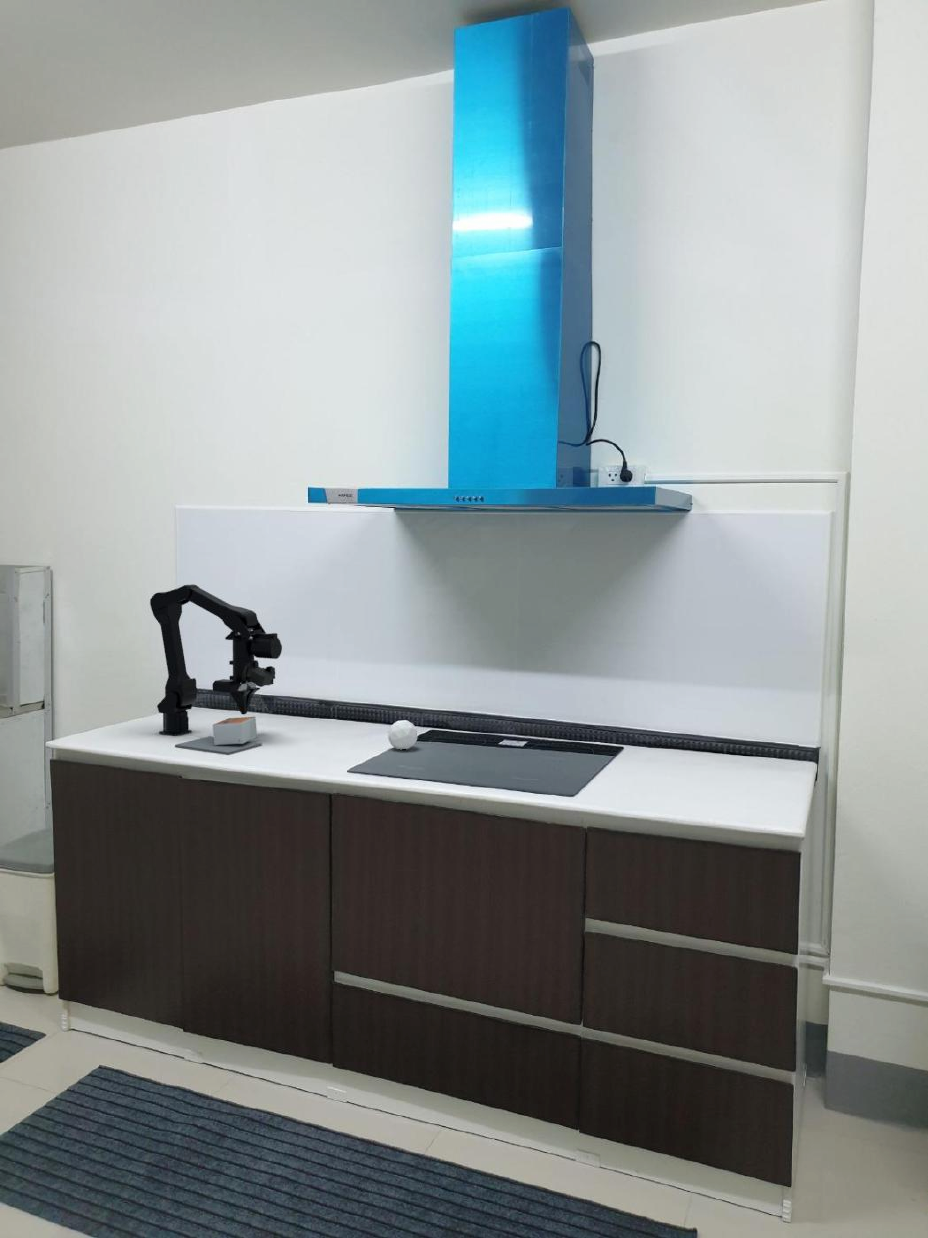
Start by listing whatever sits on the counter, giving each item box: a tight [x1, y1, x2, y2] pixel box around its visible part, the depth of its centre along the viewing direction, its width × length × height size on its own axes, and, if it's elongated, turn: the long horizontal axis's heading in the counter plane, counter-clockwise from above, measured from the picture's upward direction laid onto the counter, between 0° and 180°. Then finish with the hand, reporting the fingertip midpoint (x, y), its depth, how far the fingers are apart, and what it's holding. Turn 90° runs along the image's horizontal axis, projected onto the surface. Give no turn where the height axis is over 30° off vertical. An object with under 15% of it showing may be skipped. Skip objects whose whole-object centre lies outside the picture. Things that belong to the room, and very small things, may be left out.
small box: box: [212, 716, 258, 745], centre depth 253 cm, size 8×6×10 cm
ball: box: [387, 719, 418, 751], centre depth 251 cm, size 8×8×8 cm
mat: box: [174, 735, 263, 756], centre depth 251 cm, size 18×13×1 cm
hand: (243, 714), depth 260 cm, fingers closed
